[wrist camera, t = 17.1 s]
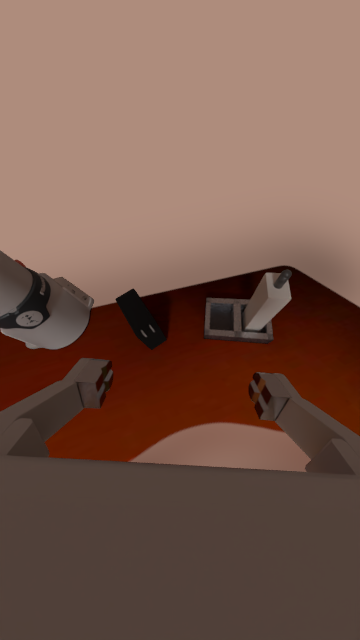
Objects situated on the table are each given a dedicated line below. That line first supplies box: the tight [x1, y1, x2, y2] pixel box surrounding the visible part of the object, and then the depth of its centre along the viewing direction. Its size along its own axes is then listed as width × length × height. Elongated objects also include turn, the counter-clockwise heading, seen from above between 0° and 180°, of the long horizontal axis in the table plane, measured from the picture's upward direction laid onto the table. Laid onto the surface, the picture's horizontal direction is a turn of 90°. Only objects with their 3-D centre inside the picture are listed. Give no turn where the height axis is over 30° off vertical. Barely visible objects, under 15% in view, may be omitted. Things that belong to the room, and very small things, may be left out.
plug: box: [243, 270, 292, 333], centre depth 28 cm, size 4×3×17 cm, turn 173°
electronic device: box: [116, 289, 167, 350], centre depth 34 cm, size 4×10×10 cm, turn 34°
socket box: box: [204, 298, 273, 344], centre depth 35 cm, size 9×14×3 cm, turn 84°
